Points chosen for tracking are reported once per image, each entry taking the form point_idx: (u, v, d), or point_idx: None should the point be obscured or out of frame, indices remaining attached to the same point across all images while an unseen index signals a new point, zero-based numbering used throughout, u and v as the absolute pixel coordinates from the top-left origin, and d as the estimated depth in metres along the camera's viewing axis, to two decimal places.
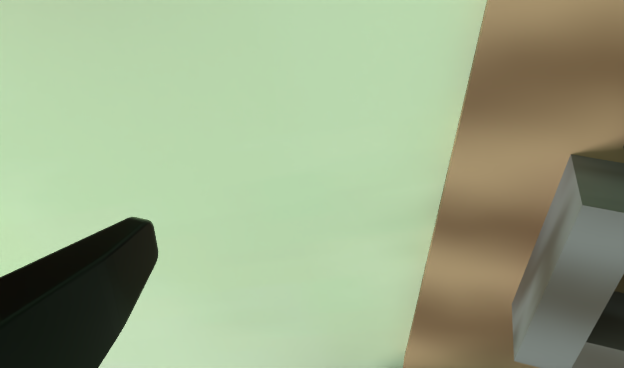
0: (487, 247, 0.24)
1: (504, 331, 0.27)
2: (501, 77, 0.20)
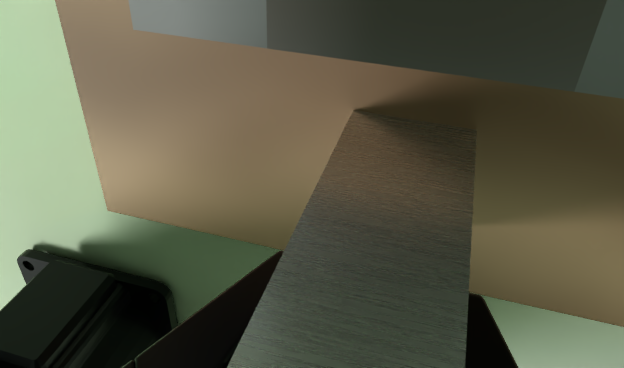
0: None
1: (234, 71, 0.12)
2: None
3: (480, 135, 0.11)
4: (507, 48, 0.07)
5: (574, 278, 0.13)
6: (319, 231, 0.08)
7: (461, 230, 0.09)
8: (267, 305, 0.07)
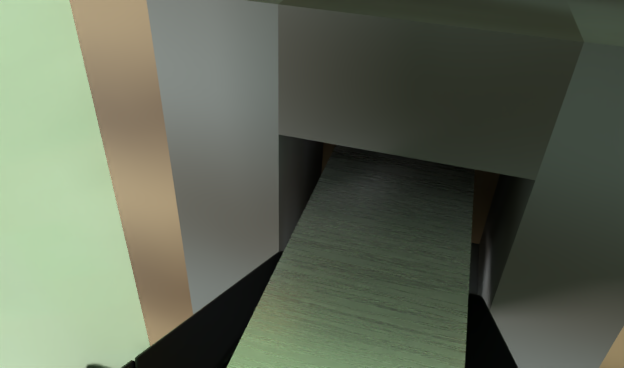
0: None
1: None
2: None
3: None
4: None
5: None
6: (319, 232, 0.08)
7: (461, 230, 0.09)
8: (267, 305, 0.07)
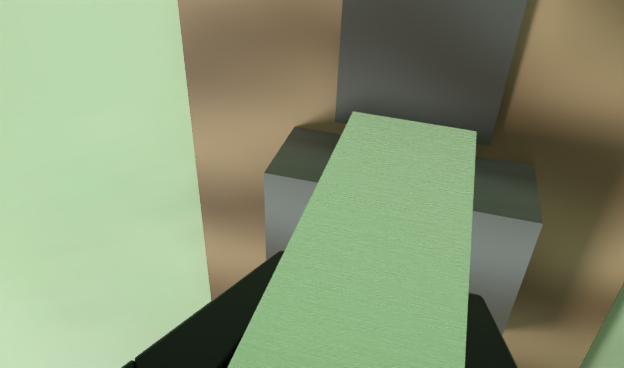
0: (252, 229, 0.24)
1: None
2: (209, 47, 0.19)
3: None
4: None
5: None
6: (318, 234, 0.08)
7: (461, 232, 0.09)
8: (266, 308, 0.07)
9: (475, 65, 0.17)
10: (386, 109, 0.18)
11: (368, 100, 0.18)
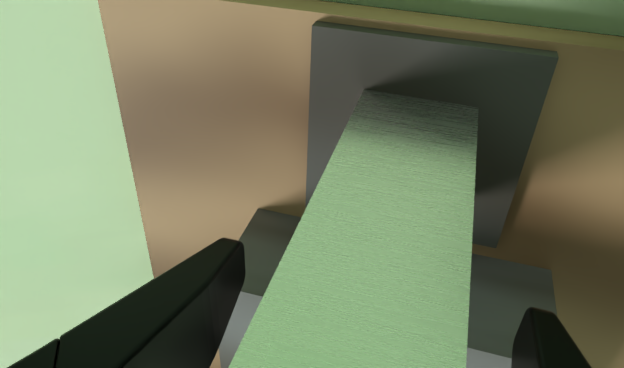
0: None
1: None
2: (152, 114, 0.16)
3: None
4: None
5: None
6: (337, 191, 0.09)
7: (465, 191, 0.09)
8: (295, 250, 0.08)
9: (479, 156, 0.13)
10: None
11: None
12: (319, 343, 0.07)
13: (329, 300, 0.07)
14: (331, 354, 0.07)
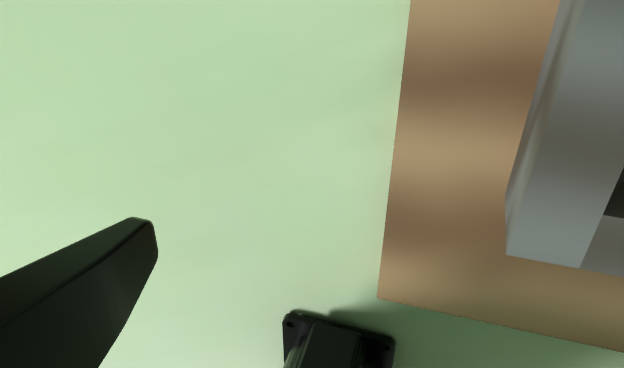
0: (468, 113, 0.19)
1: (497, 235, 0.21)
2: None
3: None
4: None
5: None
6: None
7: None
8: None
9: None
10: None
11: None
12: None
13: None
14: None
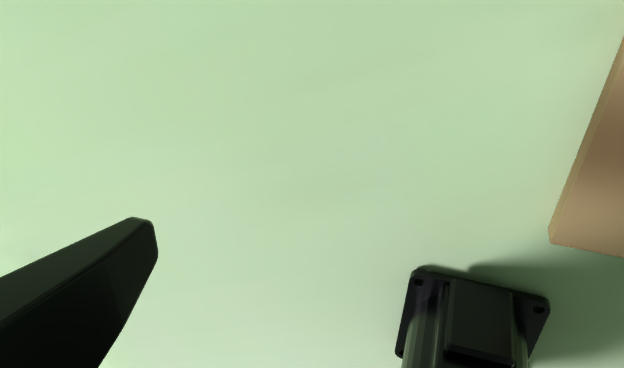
0: None
1: None
2: None
3: None
4: None
5: None
6: None
7: None
8: None
9: None
10: None
11: None
12: None
13: None
14: None
